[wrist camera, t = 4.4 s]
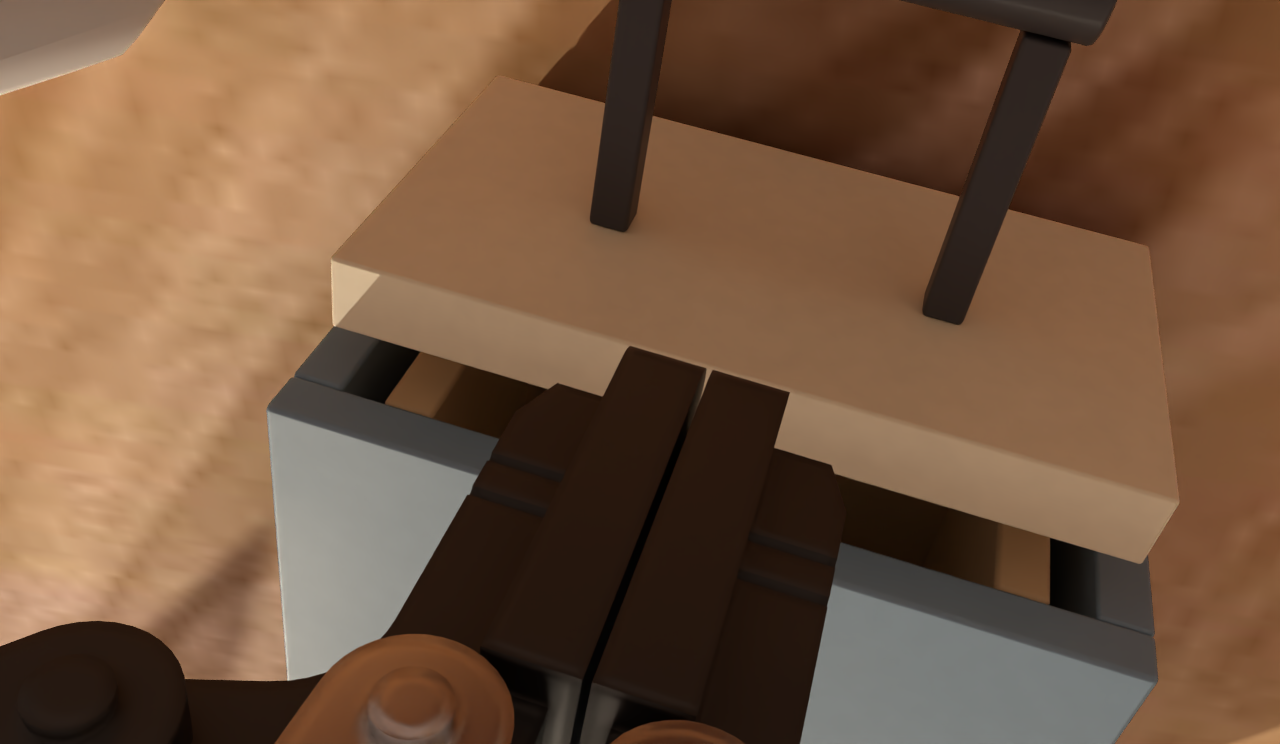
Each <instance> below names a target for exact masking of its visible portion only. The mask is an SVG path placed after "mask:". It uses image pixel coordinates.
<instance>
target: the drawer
mask: <svg viewBox="0 0 1280 744" xmlns="http://www.w3.org/2000/svg"><path fill="white" fill-rule="evenodd" d="M901 1H905V2H909V3H913V4H917V5H921V6H925V7H929V8H933V9H937V10H942V11H946V12H950V13H954V14H958V15H962V16H966V17H970V18H974V19H978V20H983V21H987V22H991V23H995V24H999V25H1003V26H1007V27H1011V28H1015V29H1019V30H1020V33H1019V36H1018V38H1017V41H1016V44H1015V47H1014V49H1013V52H1012V55H1011V58H1010V60H1009V63H1008V66H1007V69H1006V71H1005V74H1004V77H1003V80H1002V82H1001V85H1000V88H999V90H998V93H997V96H996V99H995V101H994V104H993V107H992V110H991V112H990V115H989V118H988V121H987V123H986V126H985V129H984V132H983V134H982V137H981V140H980V143H979V145H978V148H977V151H976V154H975V156H974V159H973V162H972V165H971V167H970V170H969V173H968V176H967V178H966V181H965V184H964V186H963V189H962V192H961V195H960V196H956V195H952V194H948V193H945V192H941V191H937V190H933V189H929V188H926V187H922V186H918V185H914V184H910V183H907V182H903V181H899V180H895V179H891V178H888V177H884V176H880V175H876V174H872V173H869V172H865V171H861V170H857V169H853V168H850V167H846V166H842V165H838V164H834V163H831V162H827V161H823V160H819V159H815V158H812V157H808V156H804V155H800V154H796V153H793V152H789V151H785V150H781V149H777V148H774V147H770V146H766V145H762V144H758V143H755V142H751V141H747V140H743V139H739V138H736V137H732V136H728V135H724V134H720V133H717V132H713V131H709V130H705V129H701V128H698V127H694V126H690V125H686V124H682V123H679V122H675V121H671V120H667V119H663V118H660V117H656V116H653V111H654V105H655V99H656V93H657V87H658V81H659V75H660V69H661V63H662V57H663V51H664V44H665V38H666V32H667V26H668V20H669V14H670V8H671V2H672V0H619V5H618V13H617V20H616V27H615V35H614V42H613V49H612V57H611V64H610V72H609V79H608V86H607V94H606V101H605V103H603V102H599V101H595V100H591V99H587V98H584V97H580V96H576V95H572V94H568V93H565V92H561V91H557V90H553V89H549V88H546V87H542V86H538V85H534V84H530V83H527V82H523V81H519V80H515V79H511V78H508V77H504V76H500V75H499V76H496V77H495V78H494V79H493V80H492V81H491V82H490V84H489V85H488V86H487V87H486V88H485V89H484V90H483V91H482V92H481V93H480V95H479V96H478V97H477V98H476V99H475V100H474V101H473V102H472V103H471V104H470V106H469V107H468V108H467V109H466V110H465V111H464V112H463V113H462V114H461V115H460V116H459V118H458V119H457V120H456V121H455V122H454V123H453V124H452V125H451V126H450V127H449V129H448V130H447V131H446V132H445V133H444V134H443V135H442V136H441V137H440V138H439V140H438V141H437V142H436V143H435V144H434V145H433V146H432V147H431V148H430V149H429V150H428V152H427V153H426V154H425V155H424V156H423V157H422V158H421V159H420V160H419V161H418V163H417V164H416V165H415V166H414V167H413V168H412V169H411V170H410V171H409V172H408V174H407V175H406V176H405V177H404V178H403V179H402V180H401V181H400V182H399V183H398V185H397V186H396V187H395V188H394V189H393V190H392V191H391V192H390V193H389V194H388V195H387V197H386V198H385V199H384V200H383V201H382V202H381V203H380V204H379V205H378V206H377V208H376V209H375V210H374V211H373V212H372V213H371V214H370V215H369V216H368V217H367V219H366V220H365V221H364V222H363V223H362V224H361V225H360V226H359V227H358V228H357V229H356V231H355V232H354V233H353V234H352V235H351V236H350V237H349V238H348V239H347V240H346V242H345V243H344V244H343V245H342V246H341V247H340V248H339V249H338V250H337V251H336V253H335V254H334V255H333V256H332V258H331V285H332V321H333V325H334V326H336V327H339V328H342V329H346V330H349V331H352V332H356V333H359V334H363V335H366V336H369V337H373V338H376V339H380V340H383V341H386V342H390V343H393V344H396V345H400V346H403V347H407V348H410V349H413V350H417V351H420V353H419V355H418V356H417V357H416V359H415V360H414V362H413V363H412V364H411V366H410V367H409V369H408V370H407V371H406V373H405V374H404V376H403V377H402V378H401V380H400V381H399V383H398V384H397V385H396V387H395V388H394V390H393V391H392V392H391V394H390V395H389V397H388V398H387V399H386V401H385V404H386V405H389V406H393V407H396V408H399V409H403V410H406V411H409V412H413V413H416V414H419V415H423V416H426V417H429V418H432V419H436V420H439V421H442V422H446V423H449V424H452V425H456V426H459V427H462V428H465V429H469V430H472V431H475V432H479V433H482V434H485V435H489V436H492V437H495V438H499V439H500V437H501V435H502V434H503V432H504V430H505V428H506V427H507V425H508V423H509V421H510V420H511V418H512V416H513V414H514V413H515V411H517V410H518V409H520V408H521V407H523V406H524V405H526V404H527V403H529V402H530V401H532V400H533V399H534V398H536V397H537V396H539V395H540V394H542V393H543V392H545V391H546V390H548V389H549V388H551V387H552V386H554V385H555V384H557V383H559V384H563V385H566V386H569V387H573V388H576V389H579V390H583V391H586V392H589V393H592V394H596V395H599V396H602V397H603V395H604V393H605V391H606V389H607V387H608V385H609V383H610V381H611V379H612V377H613V375H614V373H615V371H616V369H617V367H618V365H619V363H620V361H621V358H622V356H623V355H624V353H625V351H626V349H627V348H628V347H629V346H633V347H636V348H640V349H643V350H646V351H650V352H653V353H657V354H660V355H663V356H667V357H670V358H674V359H677V360H681V361H684V362H687V363H691V364H694V365H698V366H701V367H704V368H706V369H707V370H706V377H705V382H704V387H703V391H702V394H703V392H704V389H705V386H706V384H707V381H708V379H709V376H710V374H711V372H712V370H716V371H719V372H723V373H726V374H729V375H733V376H736V377H740V378H743V379H746V380H750V381H753V382H757V383H760V384H763V385H767V386H770V387H774V388H777V389H780V390H784V391H787V392H790V394H789V398H788V401H787V405H786V408H785V412H784V415H783V418H782V422H781V425H780V429H779V432H778V436H777V439H776V443H775V446H774V448H777V449H780V450H784V451H787V452H790V453H794V454H797V455H800V456H804V457H807V458H810V459H814V460H817V461H820V462H824V463H827V464H830V465H832V468H833V471H834V474H835V477H836V480H837V483H838V487H839V490H840V493H841V496H842V499H843V502H844V505H845V508H846V511H847V513H846V518H845V523H844V528H843V533H842V538H841V542H842V543H846V544H849V545H852V546H856V547H859V548H862V549H866V550H869V551H872V552H875V553H879V554H882V555H885V556H889V557H892V558H895V559H899V560H902V561H905V562H909V563H912V564H915V565H918V566H922V567H925V568H928V569H932V570H935V571H938V572H942V573H945V574H948V575H952V576H955V577H958V578H961V579H965V580H968V581H971V582H975V583H978V584H981V585H985V586H988V587H991V588H995V589H998V590H1001V591H1004V592H1008V593H1011V594H1014V595H1018V596H1021V597H1024V598H1028V599H1031V600H1034V601H1037V602H1041V603H1044V604H1047V605H1049V604H1050V538H1053V539H1056V540H1060V541H1063V542H1066V543H1070V544H1073V545H1077V546H1080V547H1083V548H1087V549H1090V550H1093V551H1097V552H1100V553H1104V554H1107V555H1110V556H1114V557H1117V558H1121V559H1124V560H1127V561H1131V562H1134V563H1137V564H1141V563H1143V561H1144V560H1145V558H1146V556H1147V555H1148V553H1149V552H1150V550H1151V548H1152V547H1153V545H1154V543H1155V542H1156V540H1157V539H1158V537H1159V535H1160V534H1161V532H1162V531H1163V529H1164V527H1165V526H1166V524H1167V522H1168V521H1169V519H1170V518H1171V516H1172V514H1173V513H1174V511H1175V510H1176V508H1177V506H1178V505H1179V503H1180V499H1179V491H1178V482H1177V474H1176V466H1175V458H1174V449H1173V441H1172V433H1171V424H1170V416H1169V408H1168V400H1167V391H1166V383H1165V375H1164V367H1163V358H1162V350H1161V342H1160V333H1159V325H1158V317H1157V309H1156V300H1155V292H1154V284H1153V275H1152V267H1151V259H1150V251H1149V247H1148V246H1146V245H1142V244H1138V243H1135V242H1131V241H1127V240H1123V239H1119V238H1116V237H1112V236H1108V235H1104V234H1100V233H1097V232H1093V231H1089V230H1085V229H1081V228H1078V227H1074V226H1070V225H1066V224H1062V223H1059V222H1055V221H1051V220H1047V219H1043V218H1040V217H1036V216H1032V215H1028V214H1024V213H1021V212H1017V211H1013V210H1009V209H1008V208H1009V206H1010V203H1011V201H1012V198H1013V196H1014V193H1015V191H1016V188H1017V186H1018V183H1019V181H1020V178H1021V176H1022V173H1023V171H1024V168H1025V166H1026V163H1027V161H1028V158H1029V156H1030V153H1031V151H1032V148H1033V146H1034V143H1035V141H1036V138H1037V136H1038V133H1039V130H1040V128H1041V125H1042V123H1043V120H1044V118H1045V115H1046V113H1047V110H1048V108H1049V105H1050V103H1051V100H1052V98H1053V95H1054V93H1055V90H1056V88H1057V85H1058V83H1059V80H1060V78H1061V75H1062V73H1063V70H1064V68H1065V65H1066V63H1067V60H1068V58H1069V55H1070V53H1071V42H1073V43H1077V44H1081V45H1085V46H1088V45H1092V44H1093V43H1094V42H1095V41H1096V40H1097V39H1098V37H1099V36H1100V35H1101V33H1102V31H1103V30H1104V28H1105V26H1106V24H1107V22H1108V20H1109V18H1110V16H1111V14H1112V11H1113V9H1114V7H1115V4H1116V2H1117V0H901ZM701 397H702V395H701ZM700 400H701V399H700Z"/></svg>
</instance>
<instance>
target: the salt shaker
mask: <svg viewBox="0 0 1280 744" xmlns="http://www.w3.org/2000/svg"><path fill="white" fill-rule="evenodd" d="M164 1H165V0H0V95H3V94H6V93H9V92H12V91H15V90H18V89H21V88H25V87H28V86H31V85H34V84H37V83H40V82H43V81H46V80H50V79H53V78H56V77H59V76H62V75H65V74H68V73H71V72H74V71H77V70H80V69H83V68H86V67H89V66H92V65H94V64H97V63H100V62H103V61H106V60H109V59H112V58H115V57H117V56H120V55H123V53H124V52H125V51H126V50H127V49H128V48H129V47H130V46H131V45H132V44H133V43H134V42H135V40H136V39H137V38H138V37H139V35H140V34H141V33H142V31H143V30H144V28H145V27H146V26H147V24H148V23H149V22H150V20H151V19H152V17H153V16H154V15H155V13H156V12H157V11H158V9H159V8H160V6H161V5H162V4H163V2H164Z"/></svg>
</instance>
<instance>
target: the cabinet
mask: <svg viewBox="0 0 1280 744" xmlns="http://www.w3.org/2000/svg"><path fill="white" fill-rule="evenodd" d="M419 353H420V351H417V350H413V349H410V348H407V347H403V346H400V345H396V344H393V343H390V342H386V341H383V340H380V339H376V338H373V337H369V336H366V335H363V334H359V333H356V332H352V331H349V330H346V329H342V328H339V327H336V326H334V327H333V328H332V329H331V331H330V332H329V333H328V334H327V335H326V336H325V338H324V339H323V340H322V341H321V342H320V344H319V345H318V346H317V347H316V348H315V350H314V351H313V352H312V353H311V354H310V356H309V357H308V358H307V359H306V360H305V362H304V363H303V364H302V365H301V366H300V368H299V369H298V370H297V371H296V373H295V376H294V377H293V378H291V379H290V380H289V381H288V382H287V383H286V384H285V386H284V387H283V388H282V389H281V390H280V392H279V393H278V394H277V395H276V396H275V398H274V399H273V400H272V401H271V402H270V403H269V405H268V407H267V422H268V435H269V448H270V461H271V474H272V487H273V500H274V513H275V526H276V539H277V551H278V564H279V577H280V590H281V603H282V616H283V629H284V642H285V655H286V668H287V681H289V680H296V679H302V678H308V677H312V676H315V675H319V674H322V673H326V672H327V671H328V670H329V669H330V668H331V667H332V666H333V665H334V664H335V663H336V662H338V661H339V660H340V659H341V658H342V657H344V656H345V655H347V654H348V653H350V652H352V651H353V650H355V649H356V648H358V647H360V646H363V645H365V644H367V643H370V642H372V641H374V640H378V639H380V638H381V637H382V636H383V635H384V634H385V633H386V632H387V631H388V629H389V628H390V626H391V625H392V623H393V622H394V621H395V619H396V617H397V616H398V614H399V612H400V610H401V609H402V607H403V605H404V603H405V602H406V600H407V598H408V597H409V595H410V593H411V591H412V590H413V588H414V586H415V584H416V583H417V581H418V579H419V577H420V576H421V574H422V572H423V571H424V569H425V567H426V565H427V564H428V562H429V560H430V558H431V557H432V555H433V553H434V551H435V550H436V548H437V546H438V545H439V543H440V541H441V539H442V538H443V536H444V534H445V532H446V531H447V529H448V527H449V525H450V524H451V522H452V520H453V519H454V517H455V515H456V513H457V512H458V510H459V508H460V506H461V505H462V503H463V501H464V499H465V498H466V496H467V494H468V495H470V493H471V490H472V486H473V484H474V482H475V480H476V479H477V477H478V475H479V473H480V472H481V470H482V468H483V466H484V465H485V463H486V461H487V460H488V461H489V460H490V457H491V453H492V451H493V449H494V447H495V446H496V444H497V442H498V440H499V438H495V437H492V436H489V435H485V434H482V433H479V432H475V431H472V430H469V429H465V428H462V427H459V426H456V425H452V424H449V423H446V422H442V421H439V420H436V419H432V418H429V417H426V416H423V415H419V414H416V413H413V412H409V411H406V410H403V409H399V408H396V407H393V406H389V405H386V404H385V401H386V399H387V398H388V397H389V395H390V394H391V392H392V391H393V390H394V388H395V387H396V385H397V384H398V383H399V381H400V380H401V378H402V377H403V376H404V374H405V373H406V371H407V370H408V369H409V367H410V366H411V364H412V363H413V362H414V360H415V359H416V357H417V356H418V355H419ZM827 607H828V608H827V613H826V618H825V623H824V628H823V633H822V638H821V643H820V647H819V652H818V657H817V662H816V667H815V672H814V677H813V682H812V687H811V692H810V697H809V702H808V707H807V712H806V717H805V722H804V727H803V732H802V737H801V742H800V744H1115V742H1116V741H1117V739H1118V738H1119V736H1120V735H1121V734H1122V732H1123V731H1124V729H1125V728H1126V726H1127V725H1128V724H1129V722H1130V721H1131V719H1132V718H1133V716H1134V715H1135V714H1136V712H1137V711H1138V709H1139V708H1140V706H1141V705H1142V704H1143V702H1144V701H1145V699H1146V698H1147V696H1148V695H1149V694H1150V692H1151V691H1152V689H1153V688H1154V686H1155V685H1156V683H1157V682H1158V671H1157V659H1156V648H1155V640H1154V638H1153V636H1154V634H1155V631H1154V619H1153V607H1152V596H1151V584H1150V572H1149V561H1148V555H1147V556H1146V558H1145V560H1144V561H1143V563H1141V564H1137V563H1134V562H1131V561H1127V560H1124V559H1121V558H1117V557H1114V556H1110V555H1107V554H1104V553H1100V552H1097V551H1093V550H1090V549H1087V548H1083V547H1080V546H1077V545H1073V544H1070V543H1066V542H1063V541H1060V540H1056V539H1053V538H1050V604H1049V605H1047V604H1044V603H1041V602H1037V601H1034V600H1031V599H1028V598H1024V597H1021V596H1018V595H1014V594H1011V593H1008V592H1004V591H1001V590H998V589H995V588H991V587H988V586H985V585H981V584H978V583H975V582H971V581H968V580H965V579H961V578H958V577H955V576H952V575H948V574H945V573H942V572H938V571H935V570H932V569H928V568H925V567H922V566H918V565H915V564H912V563H909V562H905V561H902V560H899V559H895V558H892V557H889V556H885V555H882V554H879V553H875V552H872V551H869V550H866V549H862V548H859V547H856V546H852V545H849V544H846V543H842V542H841V543H840V548H839V553H838V558H837V561H836V565H835V573H834V578H833V583H832V588H831V593H830V598H829V601H828V604H827Z"/></svg>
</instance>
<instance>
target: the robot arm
mask: <svg viewBox="0 0 1280 744" xmlns="http://www.w3.org/2000/svg"><path fill="white" fill-rule="evenodd" d="M706 370H707V369H706V368H704V367H701V366H698V365H694V364H691V363H687V362H684V361H681V360H677V359H674V358H670V357H667V356H663V355H660V354H657V353H653V352H650V351H646V350H643V349H640V348H636V347H633V346H629V347H628V348H627V349H626V351H625V353H624V355H623V356H622V358H621V361H620V363H619V365H618V367H617V369H616V371H615V373H614V375H613V377H612V379H611V381H610V383H609V385H608V387H607V389H606V391H605V393H604V395H603V397H602V396H599V395H596V394H592V393H589V392H586V391H583V390H579V389H576V388H573V387H569V386H566V385H563V384H559V383H557V384H555V385H554V386H552V387H551V388H549V389H548V390H546V391H545V392H543V393H542V394H540V395H539V396H537V397H536V398H534V399H533V400H532V401H530V402H529V403H527V404H526V405H524V406H523V407H521V408H520V409H518V410H517V411H515V413H514V414H513V416H512V418H511V420H510V421H509V423H508V425H507V427H506V428H505V430H504V432H503V434H502V435H501V437H500V439H499V440H498V442H497V444H496V446H495V447H494V449H493V451H492V453H491V457H490V460H489V461H488V460H487V461H486V463H485V465H484V466H483V468H482V470H481V472H480V473H479V475H478V477H477V479H476V480H475V482H474V484H473V486H472V490H471V493H470V495H468V494H467V496H466V498H465V499H464V501H463V503H462V505H461V506H460V508H459V510H458V512H457V513H456V515H455V517H454V519H453V520H452V522H451V524H450V525H449V527H448V529H447V531H446V532H445V534H444V536H443V538H442V539H441V541H440V543H439V545H438V546H437V548H436V550H435V551H434V553H433V555H432V557H431V558H430V560H429V562H428V564H427V565H426V567H425V569H424V571H423V572H422V574H421V576H420V577H419V579H418V581H417V583H416V584H415V586H414V588H413V590H412V591H411V593H410V595H409V597H408V598H407V600H406V602H405V603H404V605H403V607H402V609H401V610H400V612H399V614H398V616H397V617H396V619H395V621H394V622H393V623H392V625H391V626H390V628H389V629H388V631H387V632H386V633H385V634H384V635H383V636H382V637H381V638H380V639H378V640H374V641H372V642H370V643H367V644H365V645H363V646H360V647H358V648H356V649H355V650H353V651H352V652H350V653H348V654H347V655H345V656H344V657H342V658H341V659H340V660H339V661H338V662H336V663H335V664H334V665H333V666H332V667H331V668H330V669H329V670H328V671H327V672H326V673H322V674H319V675H315V676H312V677H308V678H302V679H296V680H289V681H234V680H196V679H185V678H184V674H183V672H182V669H181V666H180V663H179V662H178V660H177V658H176V657H175V655H174V654H173V652H172V651H171V650H170V649H169V648H168V647H167V646H166V645H165V644H164V643H163V642H162V641H161V640H159V639H158V638H156V637H154V636H153V635H151V634H150V633H148V632H146V631H143V630H141V629H138V628H136V627H133V626H130V625H125V624H121V623H116V622H104V621H89V622H76V623H71V624H65V625H60V626H56V627H53V628H50V629H47V630H44V631H40V632H38V633H35V634H32V635H30V636H27V637H24V638H22V639H19V640H16V641H14V642H11V643H8V644H6V645H3V646H0V744H800V742H801V737H802V732H803V727H804V722H805V717H806V712H807V707H808V702H809V697H810V692H811V687H812V682H813V677H814V672H815V667H816V662H817V657H818V652H819V647H820V643H821V638H822V633H823V628H824V623H825V618H826V613H827V608H828V607H827V604H828V601H829V598H830V593H831V588H832V583H833V578H834V573H835V565H836V561H837V558H838V553H839V548H840V543H841V538H842V533H843V528H844V523H845V518H846V513H847V511H846V508H845V505H844V502H843V499H842V496H841V493H840V490H839V487H838V483H837V480H836V477H835V474H834V471H833V468H832V465H830V464H827V463H824V462H820V461H817V460H814V459H810V458H807V457H804V456H800V455H797V454H794V453H790V452H787V451H784V450H780V449H777V448H774V446H775V443H776V439H777V436H778V432H779V429H780V425H781V422H782V418H783V415H784V412H785V408H786V405H787V401H788V398H789V394H790V392H787V391H784V390H780V389H777V388H774V387H770V386H767V385H763V384H760V383H757V382H753V381H750V380H746V379H743V378H740V377H736V376H733V375H729V374H726V373H723V372H719V371H716V370H712V372H711V374H710V376H709V379H708V381H707V384H706V386H705V389H704V392H703V394H702V391H703V387H704V382H705V377H706ZM701 395H702V397H701ZM700 399H701V400H700Z"/></svg>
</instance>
